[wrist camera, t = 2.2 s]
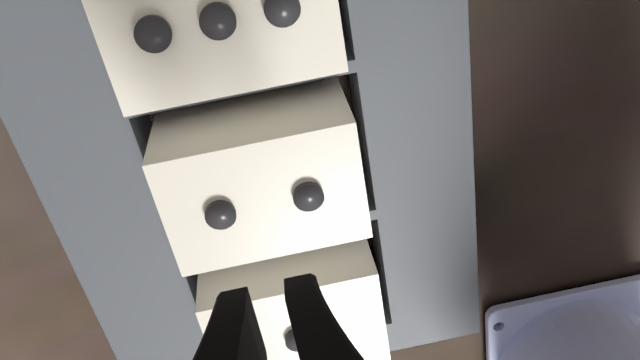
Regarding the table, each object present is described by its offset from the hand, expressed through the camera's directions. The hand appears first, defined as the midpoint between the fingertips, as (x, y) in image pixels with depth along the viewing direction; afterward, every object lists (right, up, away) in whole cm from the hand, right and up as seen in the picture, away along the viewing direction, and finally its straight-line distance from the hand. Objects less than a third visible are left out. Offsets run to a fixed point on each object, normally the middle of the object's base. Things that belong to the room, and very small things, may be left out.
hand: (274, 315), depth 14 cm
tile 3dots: (-2, +9, +4) cm, 10 cm away
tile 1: (-1, +4, +7) cm, 8 cm away
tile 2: (0, -1, +10) cm, 10 cm away
